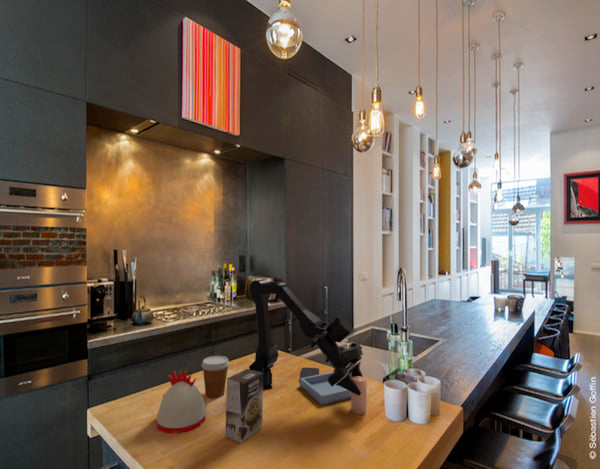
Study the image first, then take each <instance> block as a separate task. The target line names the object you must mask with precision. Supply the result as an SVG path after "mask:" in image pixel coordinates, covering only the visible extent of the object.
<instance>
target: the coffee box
mask: <svg viewBox="0 0 600 469" xmlns="http://www.w3.org/2000/svg"><path fill="white" fill-rule="evenodd" d="M263 391H264V390H263V373H262V372H258V371H254V370H250V369H249V368H245V369H244V370H242V371H240V372H237V373H235V374H233V375H231V376H229V377H226V392H225V393H226V396H225V398H226V399H225V429H224V430H225V437H227V438H228V439H231V440H233V441H235V442H237V443H239V444H242V443H244V442H245V441H246V440H247V439H249V438H251V437H252V436H253V435H255V434H256V433H257V432H259V431H260V430H262V429H263V409H264V408H263V403H264V402H263V396H264V394H263V393H264V392H263Z"/></svg>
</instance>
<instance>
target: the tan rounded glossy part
mask: <svg viewBox="0 0 600 469" xmlns="http://www.w3.org/2000/svg"><path fill="white" fill-rule="evenodd" d="M352 379H353V381H354V382H355V384H356V385H357V387H358V389H359V390H360V392H361V395H359V396H358V395H356V394H354V393H353V392H351V398H350V411H351V413H353V414H355V415H365V414H366V413H367V402H368V399H367V397H368V396H367V394H368V390H367V389H368V387H367V386H368V379H367V378H366V377H364V376H363V377H361V376H354V377H352Z"/></svg>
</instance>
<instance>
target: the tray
mask: <svg viewBox="0 0 600 469" xmlns="http://www.w3.org/2000/svg"><path fill="white" fill-rule="evenodd" d="M332 373H334V371H331V372H330V371H329V372H326V373H321V374H320V373H319V375H314V376H309V377H304V378H300V377H299V380H300V383H299V387H300V388H301V389H303V390H304V391H305V392H306V393H307V394H308V395H309V396H310V397H311V398H313V399H314V400H315V401H316V402H318V403H319V404H320V405H321V406H325V405H328V404H333V403H336V402H341V401H345V400H348V399H350V400H351V391H349V390H347V389H345V388H343V387H341V386H337V385H336V384H337V383H338V382H337V383H336V384H335V385H333V386H332V387H331V385H330V384H329V383H328V377H329V376H330V375H331V374H332Z"/></svg>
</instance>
